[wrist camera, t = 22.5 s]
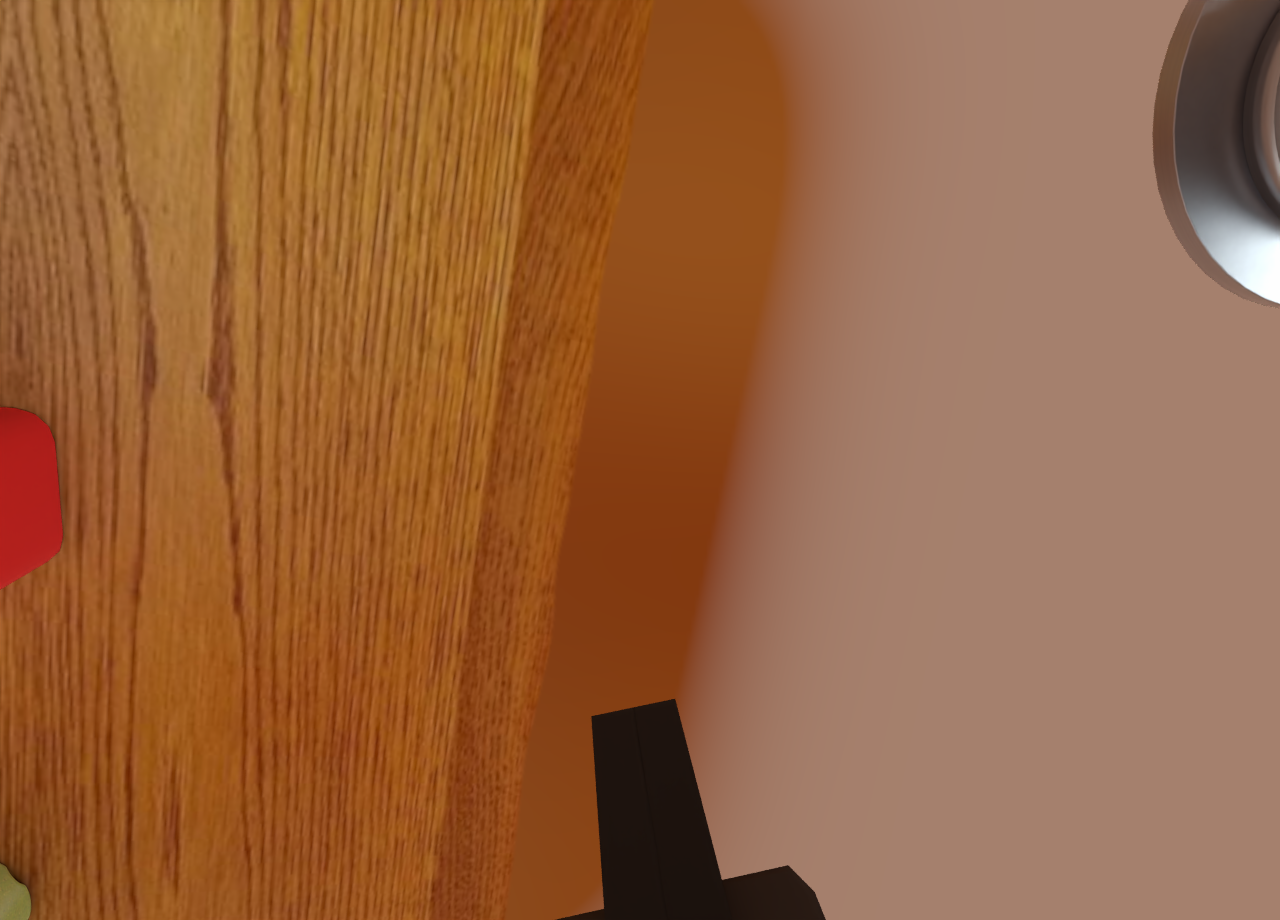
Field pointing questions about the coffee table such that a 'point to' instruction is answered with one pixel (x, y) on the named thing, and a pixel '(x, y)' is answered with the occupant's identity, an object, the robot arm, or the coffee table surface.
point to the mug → (27, 495)
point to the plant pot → (13, 897)
